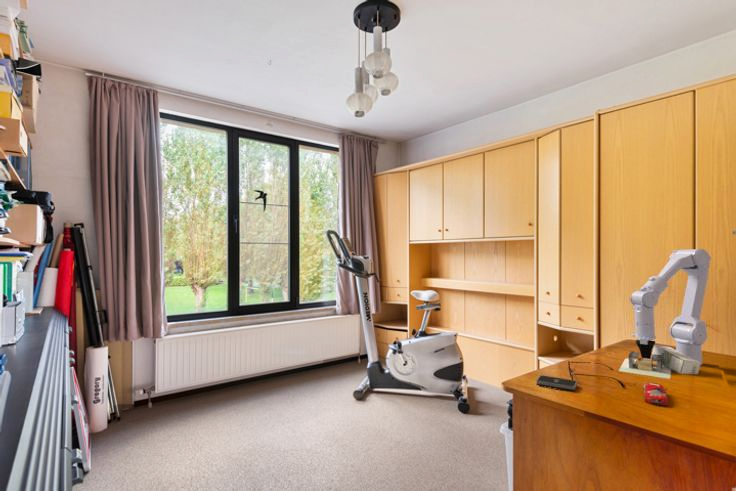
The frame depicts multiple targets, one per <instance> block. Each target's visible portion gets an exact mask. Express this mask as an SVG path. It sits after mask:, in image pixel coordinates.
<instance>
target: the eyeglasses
mask: <svg viewBox="0 0 736 491" xmlns="http://www.w3.org/2000/svg"><path fill="white" fill-rule="evenodd" d="M567 362H568V367H567V368H568V371H569V372H568V373H569V377H570V378H571V380H574V377H573V376H574V375H575V376H586V377H587V376H591V377H598V375H593V374H583V373H573V370H572V368H571V364H572V363H574V364H577V363H578V364H590V362H587V361H586V362H585V361H569V360H568V361H567ZM570 363H571V364H570ZM595 364H598V365H602V366H605V367H607V368H609V369H610V370H611V371H614V369H613V368H612V367H610V366H608V365H607V364H603V363H601V362H600V363H599V362H595ZM599 377H601V378H608V379H609V378H610V379H613V380H615V381H617V382H618V383H619V384H620V386H621V388H626V386H625V384H624V383H623V382H622V381H621V380H619V379H617V378H616V377H615V378H614V377H610V376H603V375H599Z"/></svg>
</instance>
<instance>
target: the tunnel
mask: <svg viewBox="0 0 736 491" xmlns="http://www.w3.org/2000/svg"><path fill="white" fill-rule="evenodd" d="M639 356H640V351H629V353H628V359H629V368H632V369H633V366H634V364H636V362H635V360H636V359H638V358H639ZM651 357H652V358H650V359H651V360H652V361H653V362H657V363H656V367H657V372H659V373H661V371H662V355H657V354H653V355H652V354H651Z"/></svg>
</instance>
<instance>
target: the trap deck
mask: <svg viewBox="0 0 736 491" xmlns="http://www.w3.org/2000/svg"><path fill="white" fill-rule="evenodd" d="M636 362H638V359H635V364H634V366H633V369H632V368H629V358H625V359H624V360H623V362H622V364H621V365H620V368H619V370H618V372H623V373H629V374H636V375H641V376H649V377H655V378H662V379H669V380H671V376H672V370H671V369H669V368H667V367H665V366H664V365H662V371H661V373H659V372H657V365H656V366H654V365H653V369H652V371H648V370H641V369H638V363H636ZM653 364H657V361H653Z"/></svg>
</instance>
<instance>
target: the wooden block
mask: <svg viewBox="0 0 736 491" xmlns="http://www.w3.org/2000/svg"><path fill="white" fill-rule="evenodd" d="M637 360H638V361H637V364H638V369H641V370H648V371H652V369H653V366H654V363H653V362H654V361H652V360H651V358H650V359H646V358H642V357H638V358H637Z"/></svg>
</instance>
